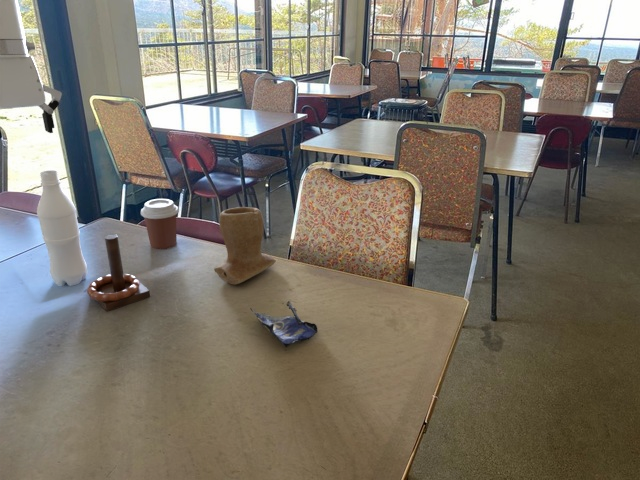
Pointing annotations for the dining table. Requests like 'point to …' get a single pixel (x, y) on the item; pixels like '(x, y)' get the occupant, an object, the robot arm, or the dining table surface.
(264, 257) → the stone cup
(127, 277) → the hanging ring
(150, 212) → the coffee cup
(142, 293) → the ring toss peg
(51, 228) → the water bottle
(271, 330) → the snack package
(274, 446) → the dining table surface
